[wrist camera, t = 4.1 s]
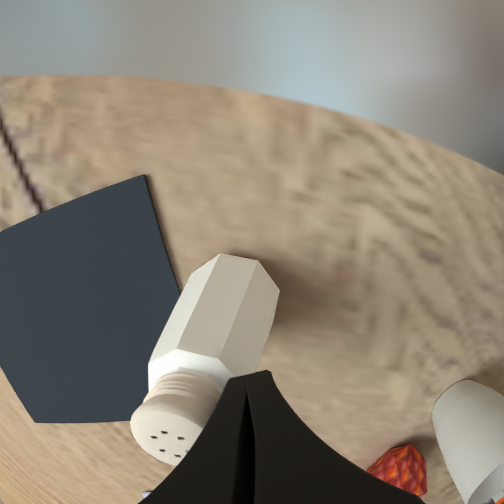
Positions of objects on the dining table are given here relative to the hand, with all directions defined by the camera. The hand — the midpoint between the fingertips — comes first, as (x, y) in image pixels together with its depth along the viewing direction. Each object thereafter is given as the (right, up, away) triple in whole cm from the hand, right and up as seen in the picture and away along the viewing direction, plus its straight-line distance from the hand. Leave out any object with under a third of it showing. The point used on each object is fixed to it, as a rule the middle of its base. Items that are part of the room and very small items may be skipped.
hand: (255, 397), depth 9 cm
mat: (-13, -1, +10) cm, 16 cm away
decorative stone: (+13, -15, +15) cm, 25 cm away
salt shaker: (-1, +2, +9) cm, 10 cm away
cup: (+18, -9, +13) cm, 24 cm away
